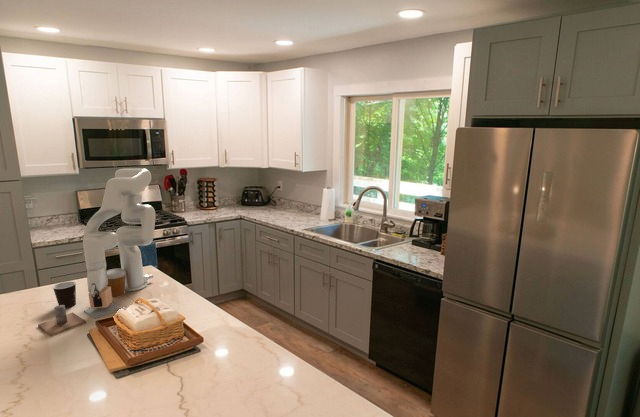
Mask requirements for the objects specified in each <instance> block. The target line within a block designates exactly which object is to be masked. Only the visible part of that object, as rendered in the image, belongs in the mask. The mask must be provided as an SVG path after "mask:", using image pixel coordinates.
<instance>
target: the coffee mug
mask: <svg viewBox="0 0 640 417" xmlns="http://www.w3.org/2000/svg"><path fill="white" fill-rule="evenodd" d="M76 285H77V284H76V282H75V281H71V280H70V281H64V282H63V281H61V282H59V283H57V284H54V285H53V286H52V289H53V292H54V295H55V298H56V301H57V304H58V305H57V306H59V305H65V310H67V309H70V308H72V307H75V306H76V303H77V298H76V297H77V295H76V294H77V290H76V289H77V288H76Z"/></svg>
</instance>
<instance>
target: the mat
mask: <svg viewBox="0 0 640 417" xmlns="http://www.w3.org/2000/svg"><path fill="white" fill-rule="evenodd" d="M120 308H121V309H122V307H120V306H119V305H117V304H115V303H113V302H111V303H110V305H109V306H108V307H107V308H93V309H91V307H89V308H86V309H84V310H83V312H84V313H85V314H87V315H88V316H90V317H92V318H94V319H98V318H101V317H103V316H107V315H109V314H111V313H114V312H116V311H119V310H118V309H120ZM121 309H120V310H121Z"/></svg>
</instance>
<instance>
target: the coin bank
mask: <svg viewBox="0 0 640 417" xmlns="http://www.w3.org/2000/svg"><path fill="white" fill-rule="evenodd" d="M95 291H98V290H95ZM95 294H97V295H98V293H95ZM100 298H101V299H102V307H94V302H93V299H92V296H91V295H90V293H89V292H88V300H89V306H90V307H89V308H91V309H93V308H107V307H108V306H109V305H110V303H113V297H112V293H111V286H110V287H108V286H107V287H105V288H104V289H103V290H102V291H101V292H100Z"/></svg>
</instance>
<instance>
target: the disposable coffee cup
mask: <svg viewBox="0 0 640 417" xmlns="http://www.w3.org/2000/svg"><path fill="white" fill-rule="evenodd" d="M106 271H107V276H108V285H107V287H110V286H111V293H112V299H113V298H120V297H123V296H124V295H126V293H125V292H126V291H125V274H126V271H125V270H124V269H122V268H116V267H115V268H112V269H108V270H106Z"/></svg>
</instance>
